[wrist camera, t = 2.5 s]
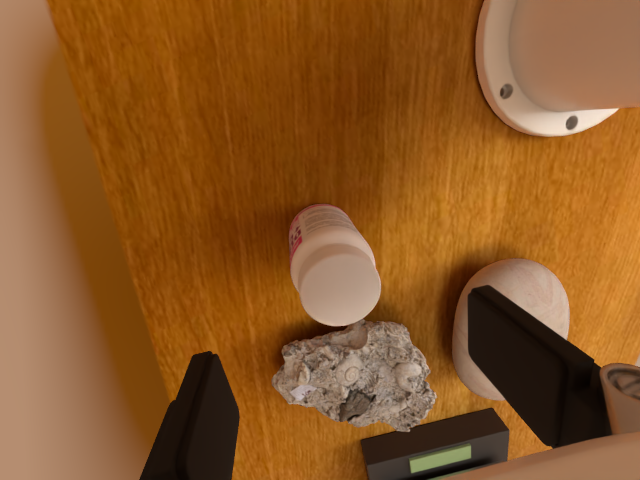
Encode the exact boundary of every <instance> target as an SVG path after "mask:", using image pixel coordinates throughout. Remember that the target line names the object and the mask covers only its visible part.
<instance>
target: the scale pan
mask: <svg viewBox="0 0 640 480" xmlns="http://www.w3.org/2000/svg"><path fill="white" fill-rule="evenodd" d="M502 462H504V461H503V460H502V461H498V462H494V463H490V464H486V465H482V466H478V467H474V468H470V469H466V470H462V471H458V472H455V473H451V474H447V475H443V476H439V477H435V478H431V479H427V480H440V479H443V478H447V477H450V476H454V475H458V474H461V473H465V472H469V471H472V470H476V469H480V468H483V467H487V466H491V465H494V464H498V463H502Z"/></svg>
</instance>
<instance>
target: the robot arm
mask: <svg viewBox="0 0 640 480" xmlns="http://www.w3.org/2000/svg"><path fill="white" fill-rule="evenodd" d="M476 66H477V72H478V79H479V82H480V85H481V88H482V91H483V93H484V96H485V98H486V100H487V102H488V103H489V105H490V107H491V108H492V110H493V111H494V113H495V114H496V115H497V116H498V117H499V118H500V119H501V120H502V121H503V122H504V123H505V124H507V125H509V126H510V127H512V128H514V129H515V130H517V131H519V132H522V133H526V134H529V135H533V136H547V137H552V136H566V135H570V134H574V133H578V132H582V131H584V130H586V129H588V128H590V127H593V126H595V125H597V124H599V123H600V122H602V121H603V120H605V119H606V118H608V117H609V116H611V115H612V114H614V113H615V112H616V111H617V110H618V109H619V108H631V107H640V0H484V2H483V6H482V9H481V12H480V15H479V21H478V27H477V34H476ZM467 305H468V353H469V356H470V358H471V359H472V361H473V362H474V363H475V364H476V366H477V367H478V368H479V369H480V370H481V371H482V373H483V374H484V375H485V376H486V377H487V378H488V380H489V381H490V382H491V383H492V384H493V385H494V387H495V388H496V389H497V390H498V391H499V392H500V394H501V395H502V396H503V397H504V398H505V399H506V401H507V402H508V403H509V404H510V405H511V406H512V408H513V409H514V410H515V411H516V412H517V413H518V414H519V416H520V417H521V418H522V419H523V420H524V421H525V423H526V424H527V425H528V426H529V427H530V428H531V430H532V431H533V432H534V433H535V434H536V435H537V437H538V438H539V439H540V440H541V441H542V442H543V443H544V444H545V445H546V446H551V447H552V448H553V449H550V450H546V451H542V452H539V453H535V454H531V455H528V456H524V457H520V458H517V459H513V460H509V461H505V462H502V463H498V464H494V465H491V466H487V467H483V468H480V469H476V470H472V471H469V472H465V473H461V474H458V475H454V476H450V477H447V478H443V479H440V480H640V367H638V366H634V365H630V364H623V363H612V364H608V365H605V366H603V367H602V368H601V367H600V366H598V365H597V364H595V363H594V359H593V358H591V357H590V356H588V355H587V354H586V353H584V352H583V351H581V350H580V349H579V348H577V347H576V346H574V345H573V344H572V343H570V342H569V341H567V340H566V339H565V338H563V337H562V336H560V335H559V334H558V333H556V332H555V331H553V330H552V329H551V328H549V327H548V326H546V325H545V324H544V323H542V322H541V321H539V320H538V319H537V318H535V317H534V316H532V315H531V314H530V313H528V312H527V311H525V310H524V309H523V308H521V307H520V306H518V305H517V304H516V303H514V302H513V301H511V300H510V299H509V298H507V297H506V296H504V295H503V294H502V293H500V292H499V291H497V290H496V289H495V288H493V287H492V286H490V285H484V286H480V287H476V288H473V289H472V290H471V293H469V294H468V297H467ZM238 426H239V409H238V406H237V403H236V401H235V398H234V396H233V393H232V390H231V388H230V385H229V382H228V380H227V377H226V375H225V372H224V369H223V367H222V364H221V361H220V359H219V356H218V355H217V354H213V353H212V352H211V351H207V352H203V353H199V354H195V355H193V356H192V358H191V361H190V363H189V366H188V369H187V371H186V374H185V377H184V379H183V382H182V384H181V387H180V390H179V392H178V395H177V397H176V400H173V401H172V402H171V403H170V405H169V407H168V409H167V412H166V414H165V417H164V419H163V422H162V424H161V427H160V429H159V432H158V434H157V437H156V439H155V442H154V444H153V447H152V449H151V452H150V454H149V457H148V459H147V462H146V464H145V467H144V469H143V472H142V475H141V477H140V479H139V480H231V479H232V471H233V464H234V456H235V449H236V441H237V434H238Z"/></svg>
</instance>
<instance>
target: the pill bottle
mask: <svg viewBox="0 0 640 480" xmlns="http://www.w3.org/2000/svg"><path fill="white" fill-rule="evenodd" d="M289 251H290V273H291V277H292V281H293V284H294V286H295V288H296V289H297V291H298V292H299V294H300V299H301V303H302V305H303V308H304V309H305V311H306V312H307V313H308V314H309V315H310V316H311V317H312V318H313V319H314V320H316V321H318V322H320V323H322V324H325V325H329V326H345V325H349V324H352V323H355V322H357V321H359V320H361V319H362V318H364V317H365V316H366V315H367V314H368V313H370V312H371V311H372V309H373V308H374V307H375V305H376V304H377V302H378V299H379V296H380V292H381V281H380V277H379V274H378V272H377V270H376V268H375V259H374V255H373V252H372V250H371V248H370V246H369V245H368V243H367V242H366V241H365V239H364V238H363V237H362V235H361V234H360V233H359V232H358V230H357V229H356V227H355V226H354V224H353V223H352V221H351V219H350V218H349V217H348V216H347V214H346V213H345V212H343V211H342V210H341V209H339V208H338V207H336V206H333V205H329V204H316V205H312V206H309V207H307V208H305V209H303V210H302V211H301V212H300V213H299V214H298V215H297V216H296V217H295V218H294V220H293V222H292V224H291V227H290V230H289Z"/></svg>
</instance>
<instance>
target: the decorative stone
mask: <svg viewBox="0 0 640 480" xmlns="http://www.w3.org/2000/svg"><path fill="white" fill-rule="evenodd" d="M484 285H490V286H492V287H493V288H495V289H496V290H497V291H499V292H500V293H502V294H503V295H504V296H506V297H507V298H509V299H510V300H511V301H513V302H514V303H516V304H517V305H518V306H520V307H521V308H523V309H524V310H525V311H527V312H528V313H530V314H531V315H532V316H534V317H535V318H537V319H538V320H539V321H541V322H542V323H544V324H545V325H546V326H548V327H549V328H551V329H552V330H553V331H555V332H556V333H558V334H559V335H560V336H562V337H563V338H565V339H566V340H567V336H568V330H569V317H570V314H569V303H568V299H567V295H566V292H565V290H564V288H563V286H562V284H561V283H560V281H559V280H558V278H557V277H556V276H555V275H554V274H553V273H552V272H551V271H550V270H549V269H548V268H546V267H545V266H543V265H541V264H539V263H537V262H535V261H531V260H527V259H518V258H511V259H504V260H500V261H496V262H494V263H491V264H489V265H487V266H485V267H484V268H482V269H481V270H479V271H478V272H477V273H476V274H475V275H474V276H473V277H472V278H471V279H470V280H469V281H468V283H467V284H466V286H465V287H464V289H463V291H462V293H461V296H460V298H459V301H458V305H457V309H456V314H455V319H454V327H453V337H452V357H453V363H454V367H455V370H456V372H457V375H458V377H459V378H460V380H461V381H462V383H463V384H464V385H465V386H466V387H467V388H468V389H469V390H471V391H472V392H474V393H475V394H477V395H479V396H481V397H484V398H488V399H492V400H506V399H505V398H504V397H503V396H502V395H501V394H500V392H499V391H498V390H497V389H496V388H495V387H494V385H493V384H492V383H491V382H490V381H489V380H488V378H487V377H486V376H485V375H484V374H483V373H482V371H481V370H480V369H479V368H478V367H477V366H476V364H475V363H474V362H473V361H472V359H471V358H470V356H469V353H468V305H467V297H468V294H469V293H471V290H472V289H473V288H476V287H480V286H484Z"/></svg>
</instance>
